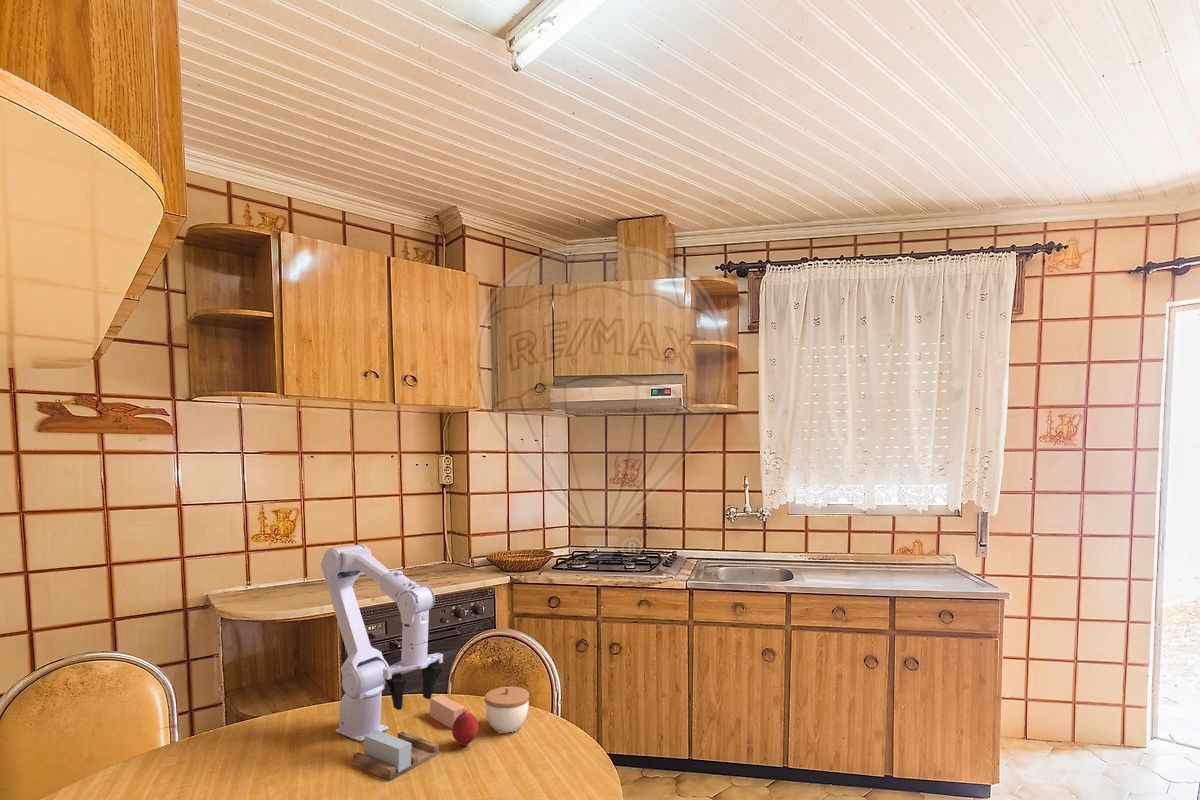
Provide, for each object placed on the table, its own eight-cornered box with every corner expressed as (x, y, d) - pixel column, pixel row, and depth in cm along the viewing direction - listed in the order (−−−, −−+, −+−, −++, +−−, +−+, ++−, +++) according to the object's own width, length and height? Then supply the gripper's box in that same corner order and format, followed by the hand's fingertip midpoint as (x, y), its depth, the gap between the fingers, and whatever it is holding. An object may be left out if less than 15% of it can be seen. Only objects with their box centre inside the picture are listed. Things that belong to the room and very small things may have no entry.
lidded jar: (506, 714, 152) (506, 676, 153) (537, 725, 146) (538, 685, 147) (474, 730, 143) (475, 689, 144) (506, 742, 137) (507, 700, 138)
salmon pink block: (429, 716, 151) (430, 698, 151) (441, 712, 153) (441, 694, 154) (453, 730, 143) (454, 711, 144) (464, 726, 146) (465, 707, 146)
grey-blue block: (363, 757, 128) (364, 735, 128) (376, 751, 131) (377, 730, 131) (398, 772, 122) (399, 749, 123) (410, 765, 125) (411, 743, 125)
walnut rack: (352, 764, 127) (353, 754, 127) (402, 740, 138) (402, 731, 138) (389, 780, 121) (390, 770, 121) (438, 754, 132) (438, 744, 132)
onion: (471, 753, 132) (472, 715, 133) (447, 750, 133) (448, 713, 134) (481, 741, 138) (482, 704, 139) (458, 738, 139) (459, 702, 140)
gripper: (396, 652, 129) (393, 718, 128) (451, 637, 140) (449, 697, 139) (378, 646, 134) (376, 709, 132) (433, 631, 145) (431, 690, 143)
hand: (412, 703), depth 136 cm, fingers open, 7 cm apart
